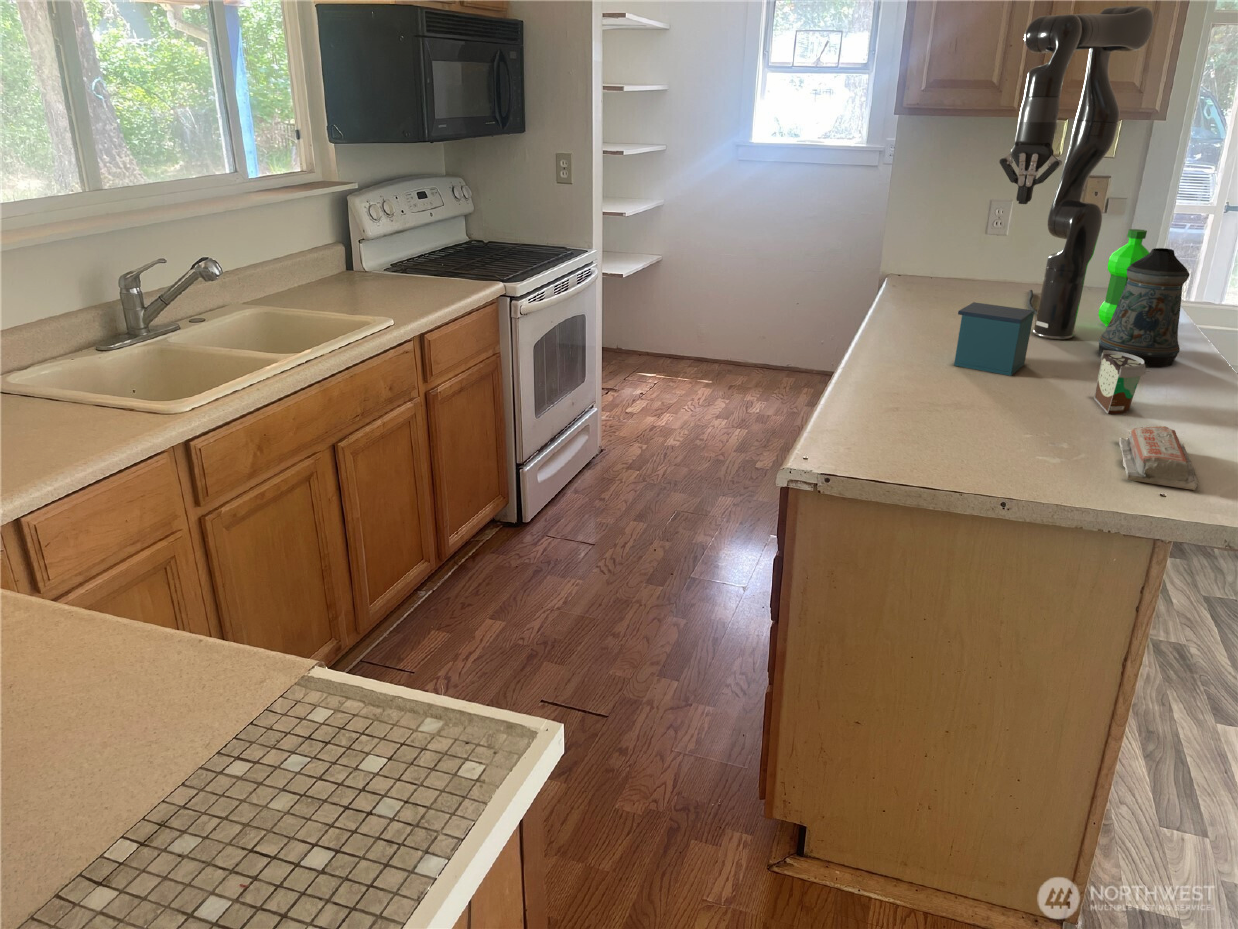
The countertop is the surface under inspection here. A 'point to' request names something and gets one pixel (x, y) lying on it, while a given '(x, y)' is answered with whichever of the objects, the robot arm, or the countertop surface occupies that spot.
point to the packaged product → (1157, 458)
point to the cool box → (992, 344)
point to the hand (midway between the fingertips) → (1022, 203)
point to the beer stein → (1149, 310)
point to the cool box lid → (996, 312)
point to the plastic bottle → (1121, 271)
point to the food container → (1118, 381)
